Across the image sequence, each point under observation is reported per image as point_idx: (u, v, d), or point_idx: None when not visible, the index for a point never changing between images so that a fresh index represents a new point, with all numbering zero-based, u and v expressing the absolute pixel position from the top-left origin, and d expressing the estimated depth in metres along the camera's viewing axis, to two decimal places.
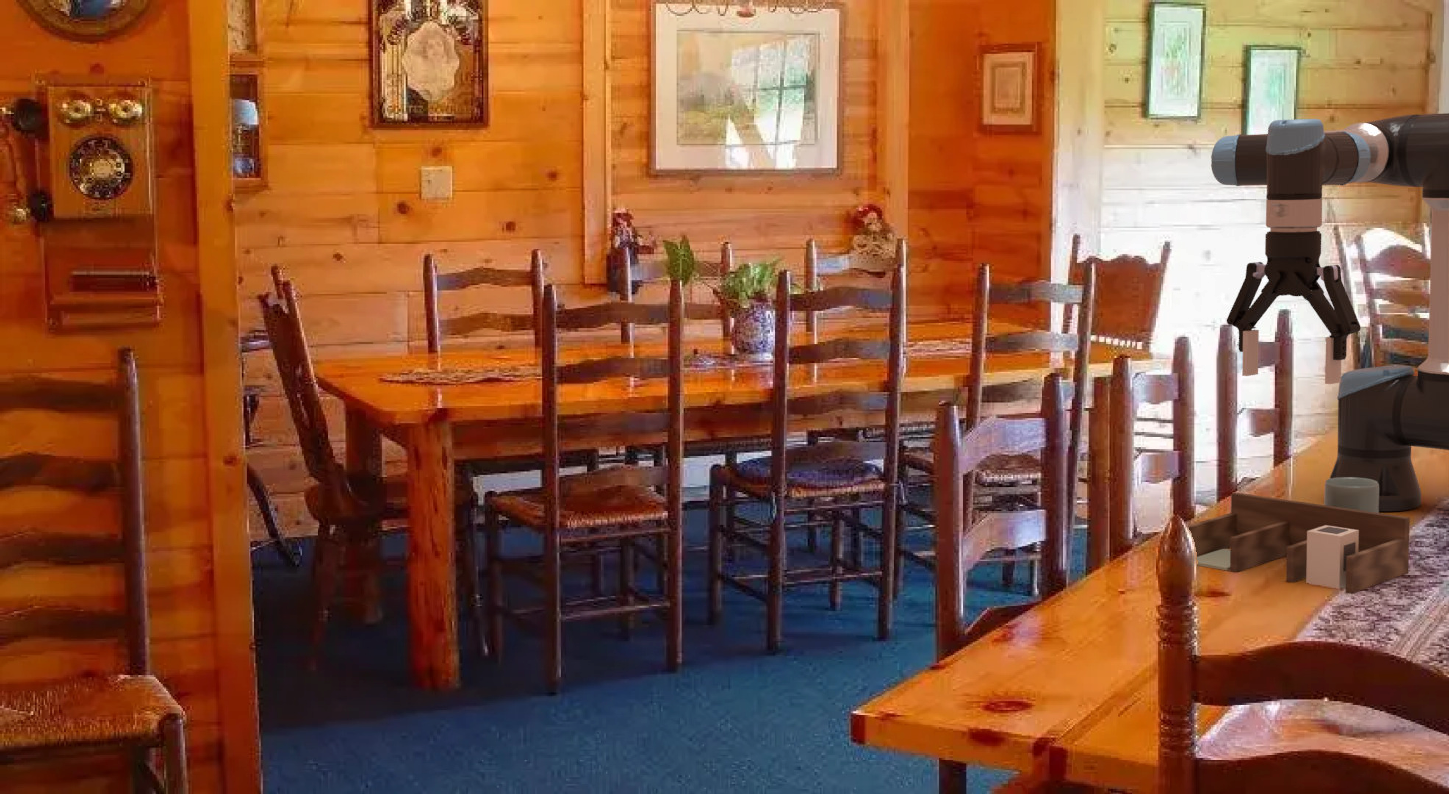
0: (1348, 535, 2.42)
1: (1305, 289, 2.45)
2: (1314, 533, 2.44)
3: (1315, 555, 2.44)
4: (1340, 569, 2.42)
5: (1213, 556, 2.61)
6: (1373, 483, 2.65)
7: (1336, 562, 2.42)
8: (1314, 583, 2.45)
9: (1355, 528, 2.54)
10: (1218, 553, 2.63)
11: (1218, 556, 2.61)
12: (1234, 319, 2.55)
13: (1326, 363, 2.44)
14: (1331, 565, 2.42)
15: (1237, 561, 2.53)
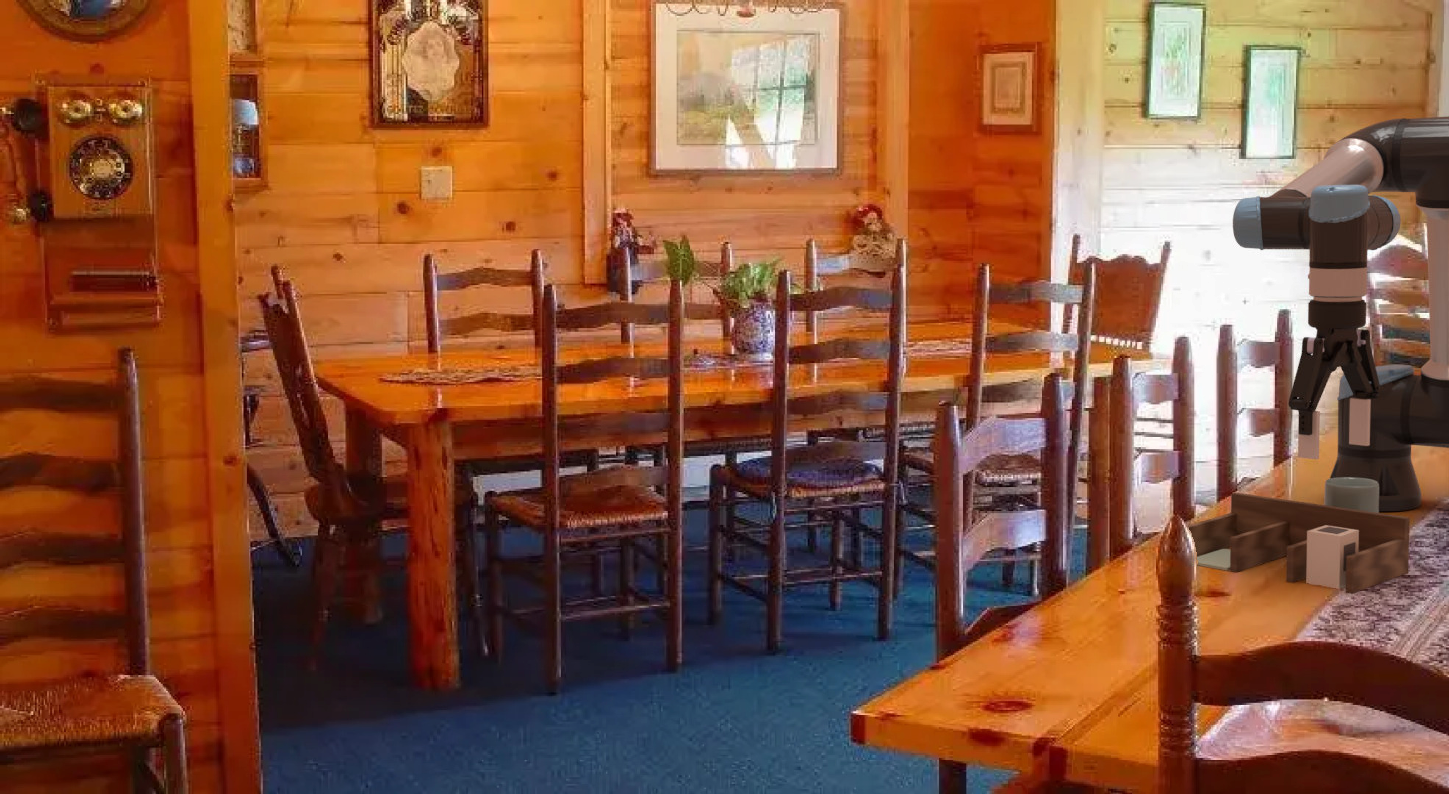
0: (1348, 535, 2.42)
1: None
2: (1314, 533, 2.44)
3: (1316, 555, 2.44)
4: (1340, 569, 2.42)
5: (1213, 556, 2.61)
6: (1373, 483, 2.65)
7: (1336, 562, 2.42)
8: (1314, 583, 2.45)
9: (1355, 528, 2.54)
10: (1218, 553, 2.63)
11: (1218, 556, 2.61)
12: None
13: None
14: (1331, 565, 2.42)
15: (1237, 561, 2.53)
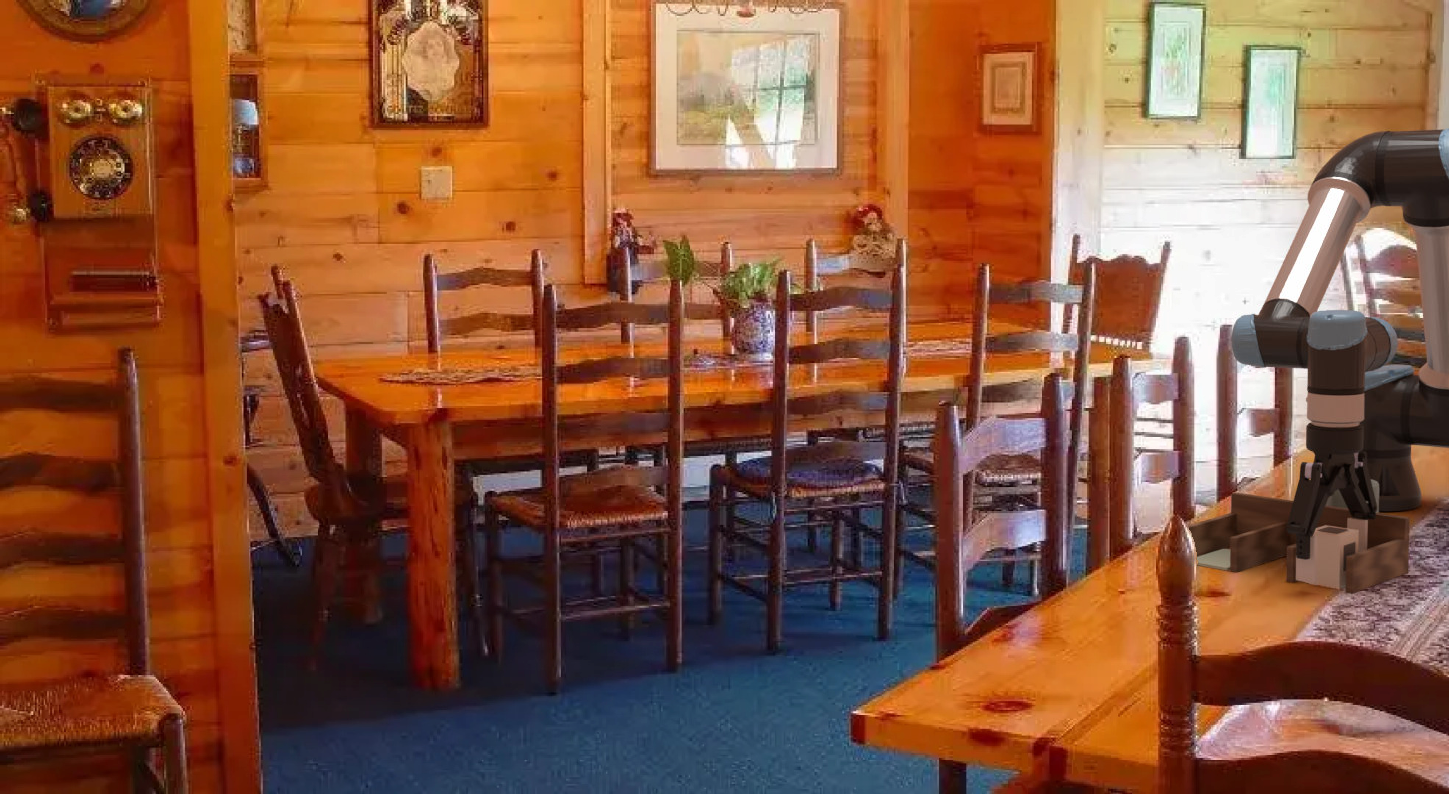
0: (1348, 535, 2.42)
1: None
2: (1314, 533, 2.44)
3: None
4: (1340, 569, 2.42)
5: (1213, 556, 2.61)
6: (1373, 483, 2.65)
7: (1336, 562, 2.42)
8: (1314, 583, 2.45)
9: None
10: (1218, 553, 2.63)
11: (1218, 556, 2.61)
12: None
13: None
14: (1331, 565, 2.42)
15: (1237, 561, 2.53)
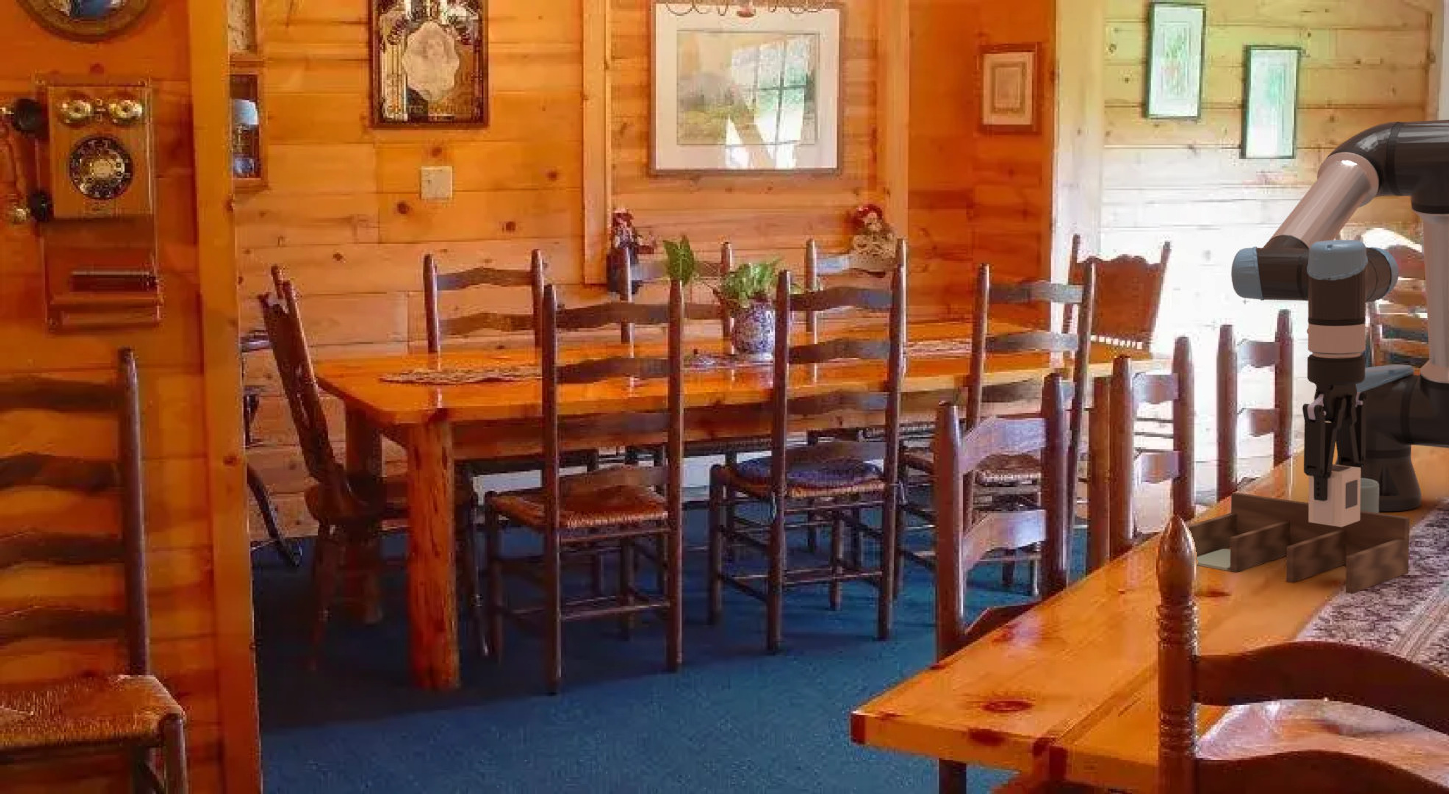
0: (1350, 472, 2.41)
1: None
2: None
3: None
4: (1342, 507, 2.41)
5: (1213, 556, 2.61)
6: (1373, 483, 2.65)
7: (1338, 500, 2.41)
8: None
9: (1355, 528, 2.54)
10: (1218, 553, 2.63)
11: (1218, 556, 2.61)
12: None
13: None
14: None
15: (1237, 561, 2.53)
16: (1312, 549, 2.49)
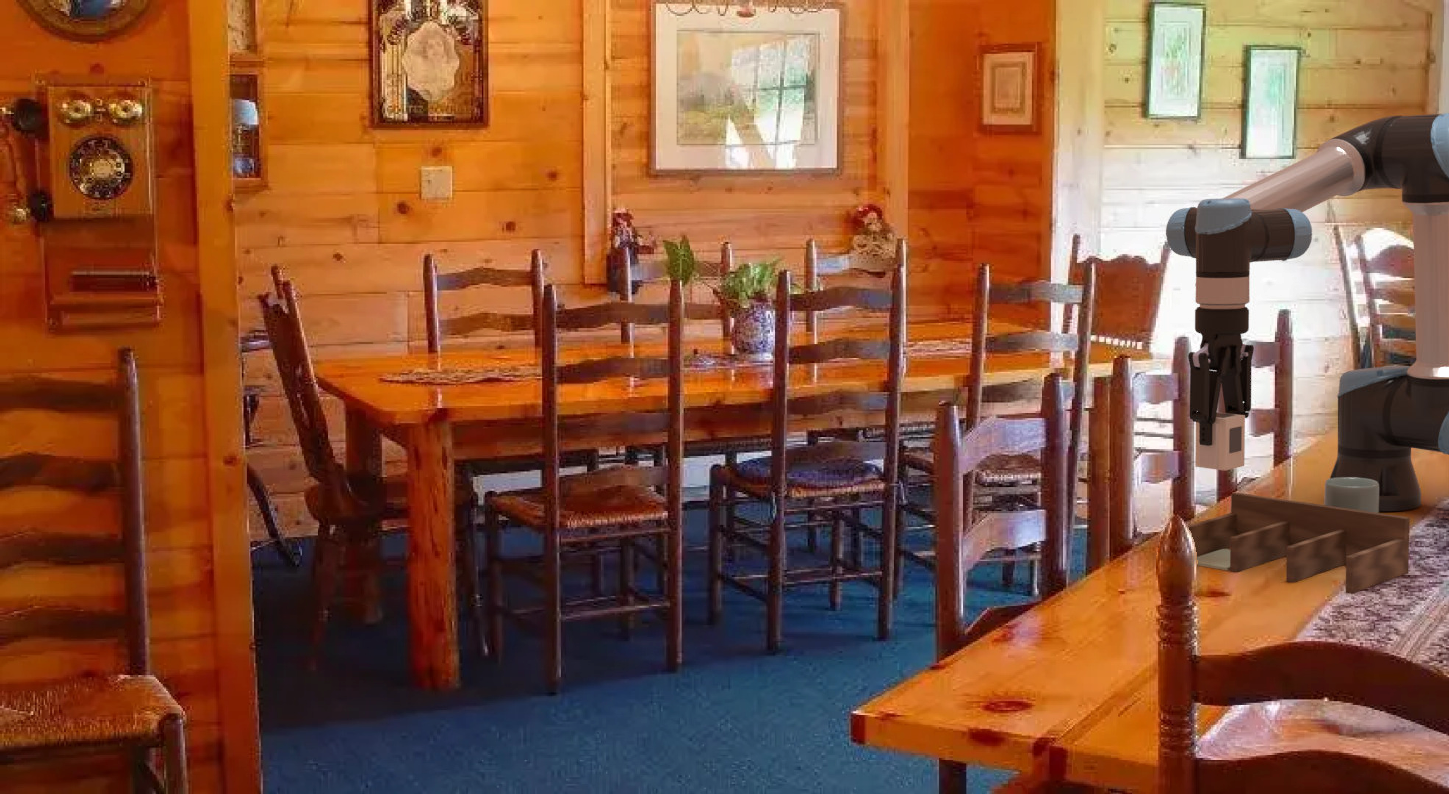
0: (1234, 419, 2.54)
1: None
2: None
3: None
4: (1226, 451, 2.53)
5: (1213, 556, 2.61)
6: (1373, 483, 2.65)
7: (1222, 444, 2.53)
8: None
9: (1355, 528, 2.54)
10: (1218, 553, 2.63)
11: (1218, 556, 2.61)
12: None
13: None
14: None
15: (1237, 561, 2.53)
16: (1312, 549, 2.49)
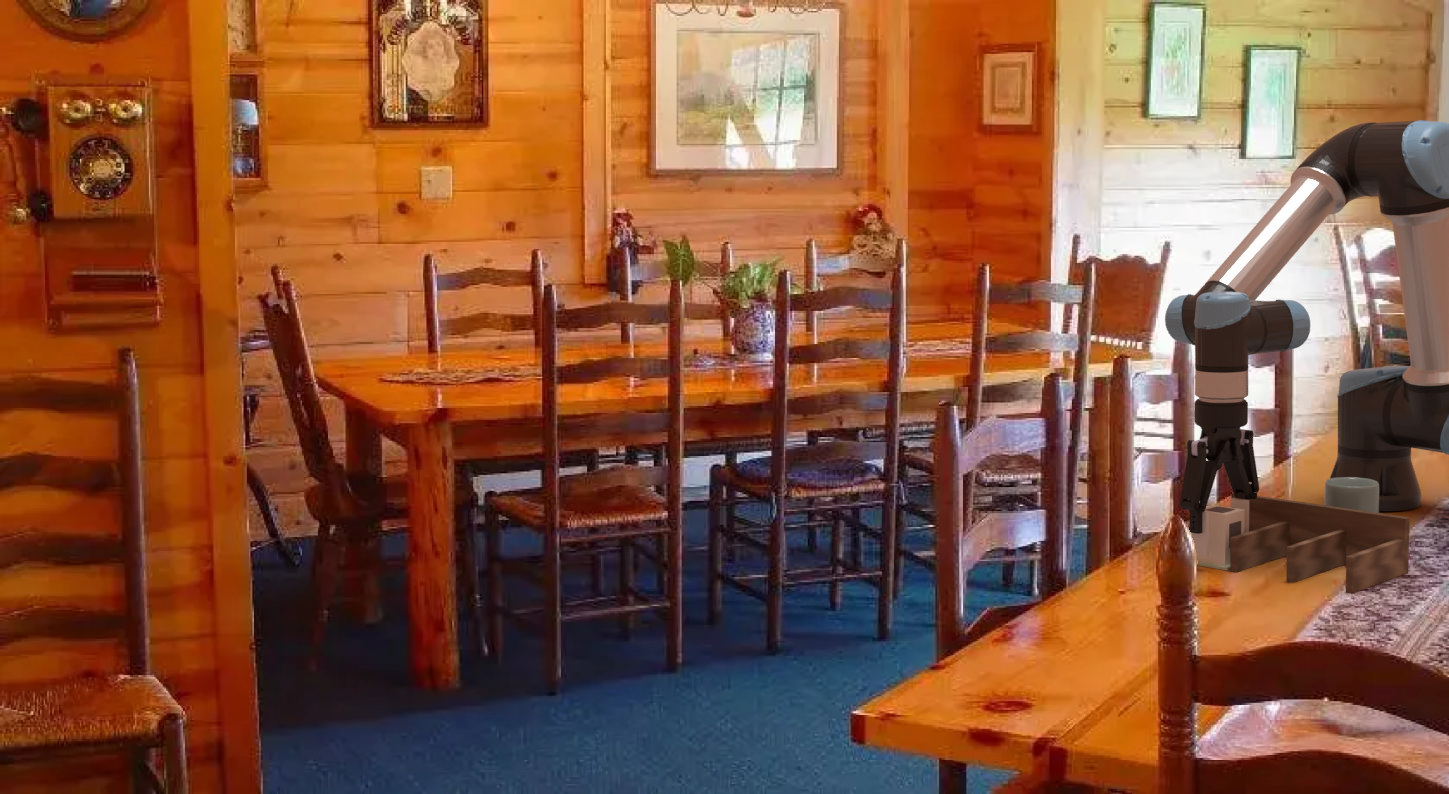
0: (1234, 514, 2.56)
1: None
2: None
3: None
4: (1225, 546, 2.55)
5: None
6: (1373, 483, 2.65)
7: (1222, 540, 2.55)
8: (1202, 560, 2.58)
9: (1355, 528, 2.54)
10: None
11: None
12: None
13: None
14: (1217, 542, 2.56)
15: (1237, 561, 2.53)
16: (1312, 549, 2.49)
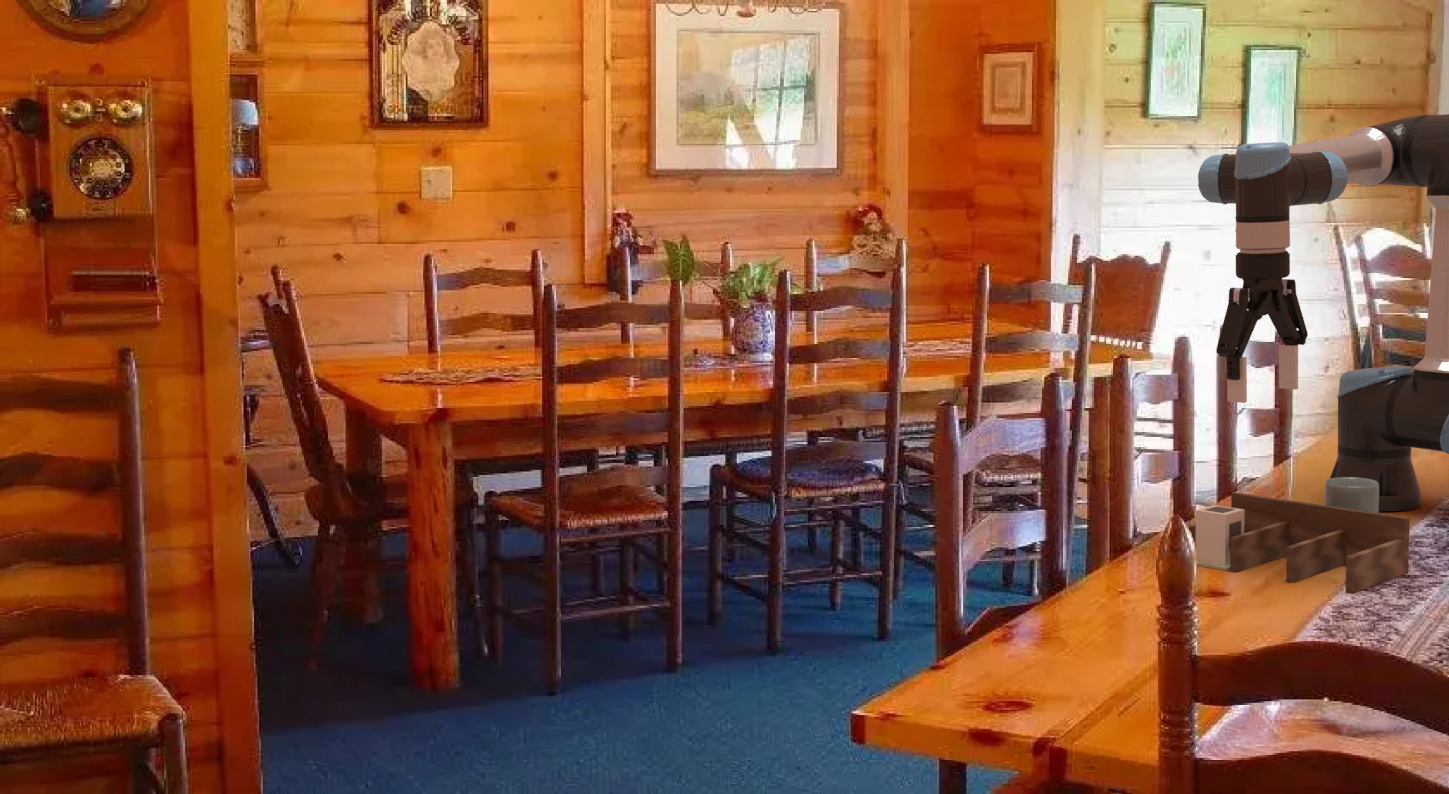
0: (1234, 514, 2.56)
1: None
2: (1202, 512, 2.57)
3: (1203, 533, 2.57)
4: (1225, 546, 2.55)
5: None
6: (1373, 483, 2.65)
7: (1222, 540, 2.55)
8: (1202, 560, 2.58)
9: (1355, 528, 2.54)
10: None
11: None
12: None
13: None
14: (1217, 542, 2.56)
15: (1237, 561, 2.53)
16: (1312, 549, 2.49)
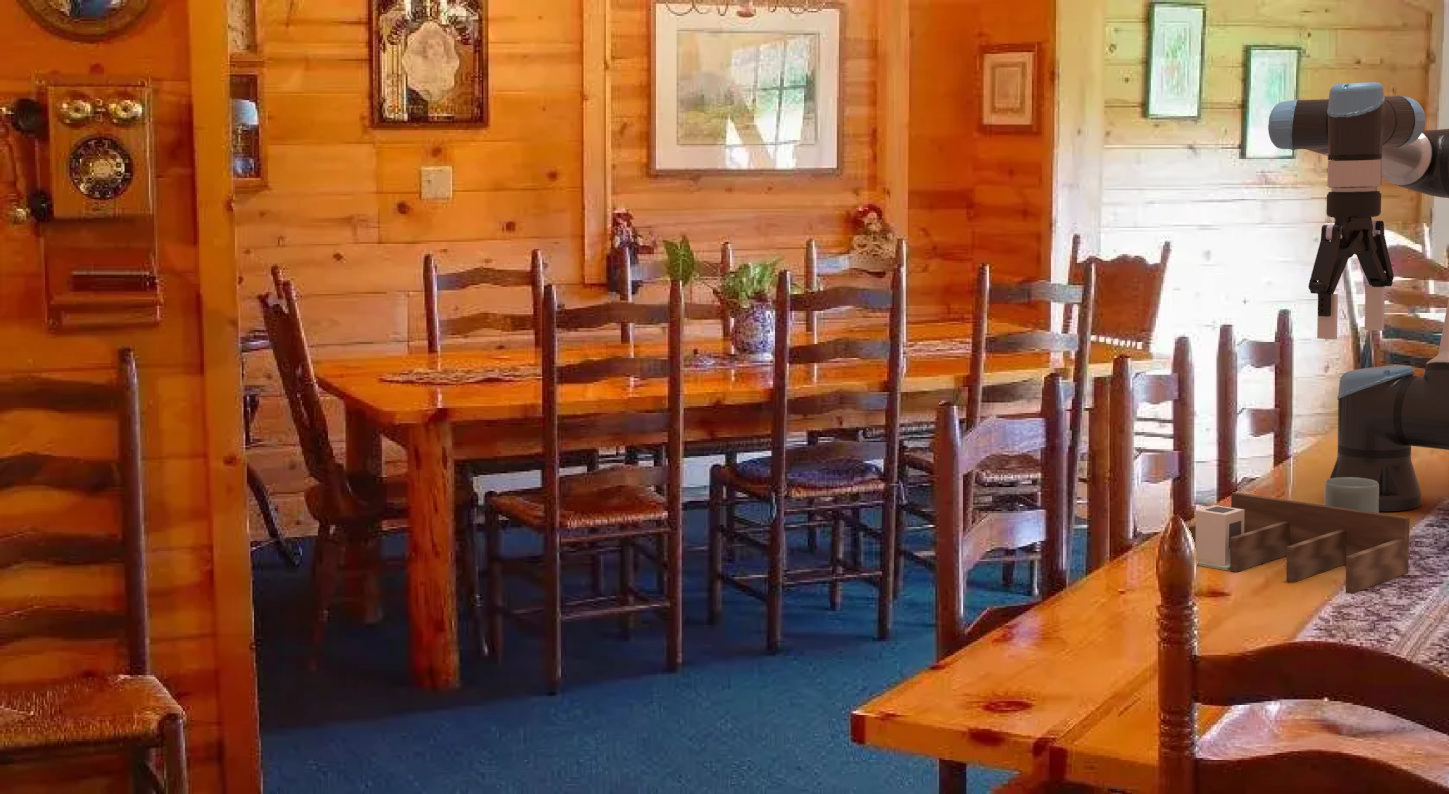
0: (1234, 514, 2.56)
1: None
2: (1202, 512, 2.57)
3: (1203, 533, 2.57)
4: (1225, 546, 2.55)
5: None
6: (1373, 483, 2.65)
7: (1222, 540, 2.55)
8: (1202, 560, 2.58)
9: (1355, 528, 2.54)
10: None
11: None
12: None
13: None
14: (1217, 542, 2.56)
15: (1237, 561, 2.53)
16: (1312, 549, 2.49)
